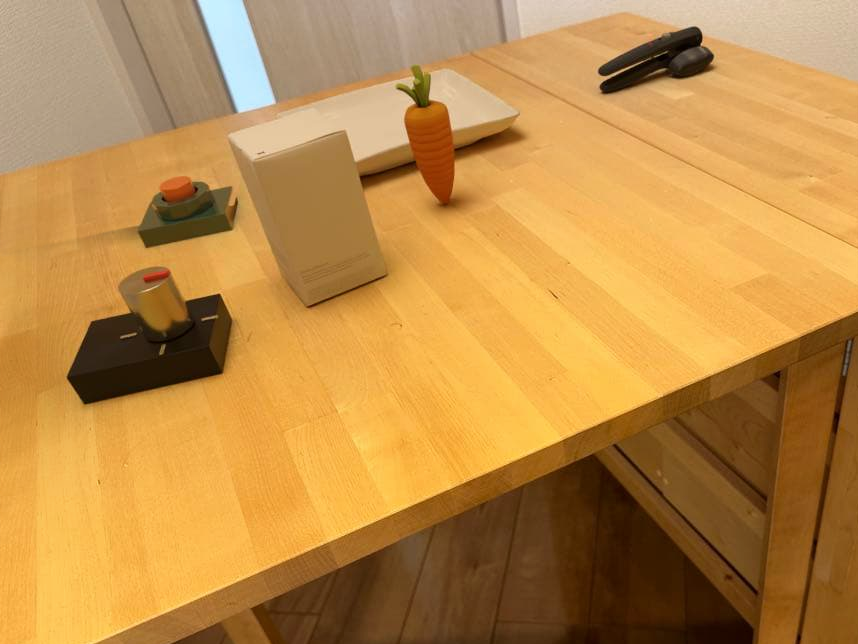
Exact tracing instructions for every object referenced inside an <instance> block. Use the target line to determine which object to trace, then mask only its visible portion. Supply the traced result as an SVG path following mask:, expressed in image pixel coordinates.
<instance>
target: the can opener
mask: <svg viewBox="0 0 858 644" xmlns="http://www.w3.org/2000/svg"><path fill="white" fill-rule="evenodd" d="M703 36H704V35H703V32H702V30H701V29H700V27H698V26H696V25H694V26H688V27H686V28H683V29H680V30H677V31H669V32H663V33H662V34H661V36H660V37H658V38H655V39H652V40H649V41H647V42H644V43H642V44H641V45H640V44H639V45H638V46H636V47H634V48H632V49H630V50H628V51H625V52H623V53H621V54H620V55H617V56H616V57H614V58H612V59H610V60H609V61H607V62H605V63H604V64H602V65H600V67H598V70H597V74H598V75H599V76H601V77H608V76H611V75H613V74H615V73H617V74H615V75H613V76H611V77H609V78H607V79H605V80H603V81H602V82H601V83H600V84H599V87H598V88H599V90H600V91H602V92H604V93H610V92H614V91H617V90H621V89H622V88H626V87H627V86H631V85H632V84H634V83H636V82H638V81H639V80H641V79H643V78H645V77H647V76H649V75H651V74H653V73H655V72H658V71H659V70H664V69H667V70H668V72H669V73H671V74H674V75H677V76H680V77H686V76H687V77H688V76H691V75H694V74H696V73H698V72H700V71H702V70H703V69H705V68H707V67H708V66H709V65H710V64H711V63H712V62H713V61H714V59H715V55H714V53H713V52H712V50H710V49H709V48H708V47H707V46H705V45H702V43H703V38H704V37H703ZM622 70H623V71H622ZM620 71H621V72H620ZM618 72H619V73H618Z"/></svg>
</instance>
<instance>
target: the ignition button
mask: <svg viewBox="0 0 858 644" xmlns="http://www.w3.org/2000/svg"><path fill="white" fill-rule="evenodd" d="M192 182H193V181H192V178H191V177H190V176H187V175H180V176H175V177H172V178H169V179H165V180H164V181H163V182H161V183H160V184H159V186H158V188H159V190H160V191H159V192H161V193H162V195H163V197H164V199H165V201H166V202H175V201H180V200H184V199H186V198H188V197H191V196H192V195H194V194H195V193H196V190H195V187H194V185H193V183H192Z"/></svg>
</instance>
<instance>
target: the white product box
mask: <svg viewBox="0 0 858 644" xmlns="http://www.w3.org/2000/svg"><path fill="white" fill-rule="evenodd" d="M227 141H228V143H229V146H230V149H231V151H232V154H233V157H234V159H235V162H236V164H237V166H238V169H239V171H240V174H241V177H242V179H243V181H244V184H245V186H246V189H247V191H248V193H249V196H250V199H251V202H252V204H253V207H254V210H255V212H256V215H257V217H258V219H259V222H260V224H261V227H262V229H263V232H264V234H265V235H264V236H265V237H266V240H267V242H268V244H269V247H270V250H271V252H272V255H273V257H274V260H275V262H276V265H277V267H278V270H279V272H280V274H281V276H282V277H283V279H284V280H285V281H286V283H288V285H289V286H290V287H291V289H293V291H294V292H295V294H296V295H297V296H298V297H299V300H300V301H302V303H303V304H304V305H305V306H306V307H310V306H312V305H314V304H315V305H316V304H317V303H320V302H322V301H325V300H328V299H330V298H332V297H335V296H338V295H340V294H342V293H345V292H347V291H349V290H352V289H354V288H357V287H360V286H363V285H364V284H367V283H369V282H371V281H374V280H376V279H377V280H378V279H379V278H382V277H384V276H387V275H388V271H387V267H386V263H385V261H384V257H383V253H382V249H381V247H380V244H379V240H378V237H377V233H376V229H375V226H374V223H373V220H372V216H371V213H370V209H369V205H368V202H367V199H366V195H365V192H364V188H363V185H362V181H361V178H360V177H361V176H359V174H358V170H357V167H356V163H355V160H354V156H353V153H352V150H351V146H350V143H349V139H348V136H347V133H346V130H344V129H343V128H341V127H340V126H338V125H337V124H335V123H334V122H333V121H331V120H330V119H328V118H327V117H325V116H324V115H322V114H321V113H320V112H318V111H317V110H315V109H314V108H311V109H308V110H304V111H300V112H297V113H294V114H291V115H288V116H286V117H283V118H279V119H277V118H275V119H274V120H271V121H267V122H264V123H260V124H257V125H253V126H250V127H247V128H244V129H243V128H242V129H240V130H237V131H234V132H231V133H229V134H227Z"/></svg>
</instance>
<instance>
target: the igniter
mask: <svg viewBox="0 0 858 644" xmlns="http://www.w3.org/2000/svg"><path fill="white" fill-rule="evenodd" d="M192 183H193V185H194V187H195V190H196V193H195V194H194V195H192V196H191V197H188V198H186V199H184V200H180V201H175V202H166V201H165V199H164V197H163V195H162V193H161V191H159V192H158V193H156V194H154V195H153V196H152V198H151V201H150V202H149V204H148V206H147V208H146V211H145V213H144V216H143V218H142V221H141V223H140V225H139V227H138V229H137V233H138V235H139V237H140V239H141V241H142V243H143V245H144V247H145V248H146V249H148V248H152V247H157V246H162V245H167V244H172V243H176V242H177V243H178V242H182V241H186V240H191V239H196V238H201V237H205V236H206V237H207V236H210V235H215V234H220V233H225V232H229V231H232V230H233V227H234V224H235V218H236V214H237V209H238V205H239V201H238V198H237V197H235V199H234V203H233V204H234V205H229V204H230V199H231V195H232V192H233V186H232V185H229V186H225V187H220V188H215V189H211V188H210V185H209V184H207V182H206V183H205V182H204V181H192Z"/></svg>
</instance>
